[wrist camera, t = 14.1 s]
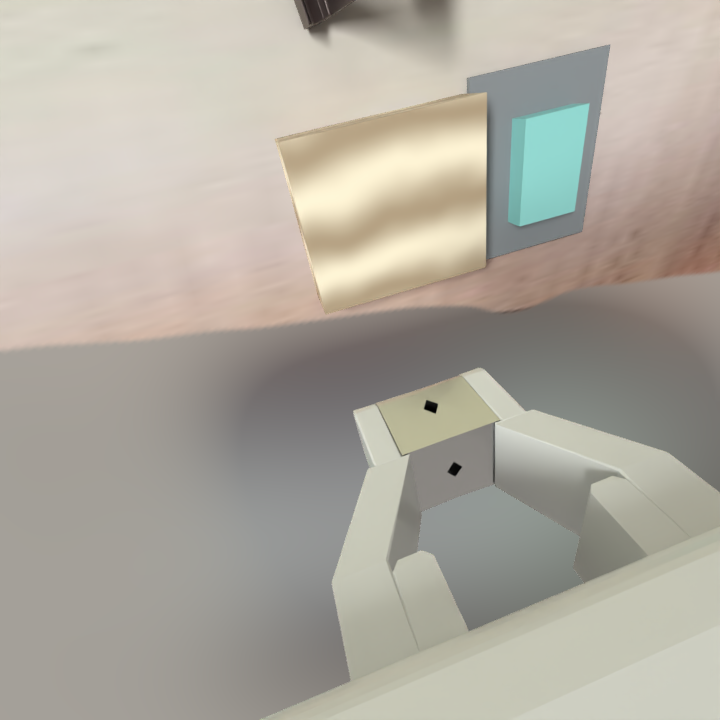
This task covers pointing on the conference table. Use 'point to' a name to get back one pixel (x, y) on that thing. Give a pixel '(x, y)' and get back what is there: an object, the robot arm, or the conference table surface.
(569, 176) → the turquoise rectangular block
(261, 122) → the conference table surface
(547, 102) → the mat
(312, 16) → the portable electronic device stand
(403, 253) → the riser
